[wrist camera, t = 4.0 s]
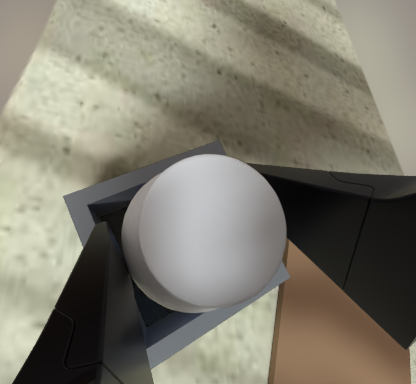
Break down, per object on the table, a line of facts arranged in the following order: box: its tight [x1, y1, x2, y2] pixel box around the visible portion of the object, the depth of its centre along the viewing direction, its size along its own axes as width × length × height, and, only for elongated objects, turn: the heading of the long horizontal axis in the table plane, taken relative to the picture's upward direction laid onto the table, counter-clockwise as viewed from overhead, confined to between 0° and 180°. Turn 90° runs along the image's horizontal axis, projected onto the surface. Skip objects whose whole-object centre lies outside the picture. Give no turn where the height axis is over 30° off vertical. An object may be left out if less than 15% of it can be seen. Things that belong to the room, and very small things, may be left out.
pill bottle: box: [121, 154, 286, 313], centre depth 11 cm, size 6×5×10 cm
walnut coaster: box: [268, 237, 411, 384], centre depth 16 cm, size 10×10×1 cm
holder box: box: [63, 140, 290, 369], centre depth 14 cm, size 9×9×4 cm
